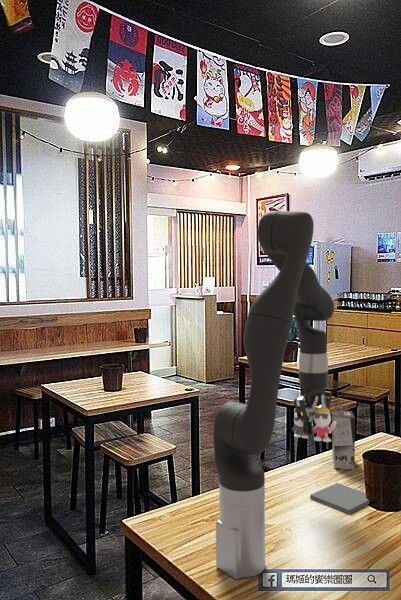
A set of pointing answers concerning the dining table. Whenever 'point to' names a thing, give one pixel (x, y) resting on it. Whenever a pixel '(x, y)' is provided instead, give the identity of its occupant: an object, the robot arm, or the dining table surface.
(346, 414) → the coffee box
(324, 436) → the toy figures
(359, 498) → the mat
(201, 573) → the dining table surface
